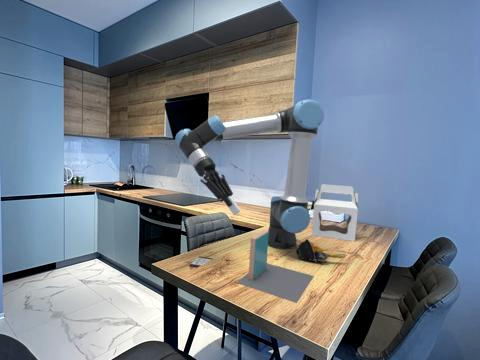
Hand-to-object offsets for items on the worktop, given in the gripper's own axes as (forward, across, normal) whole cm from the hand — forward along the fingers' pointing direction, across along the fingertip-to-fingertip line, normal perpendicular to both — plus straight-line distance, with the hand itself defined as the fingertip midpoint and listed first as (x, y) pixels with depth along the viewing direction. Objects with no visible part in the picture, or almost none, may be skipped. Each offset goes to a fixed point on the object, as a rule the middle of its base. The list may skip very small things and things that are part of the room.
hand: (237, 212), depth 92 cm
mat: (+26, 0, -3) cm, 26 cm away
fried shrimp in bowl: (+32, -26, +3) cm, 42 cm away
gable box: (+31, -69, +1) cm, 76 cm away
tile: (+21, 0, -8) cm, 22 cm away
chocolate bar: (+10, +2, -20) cm, 23 cm away
